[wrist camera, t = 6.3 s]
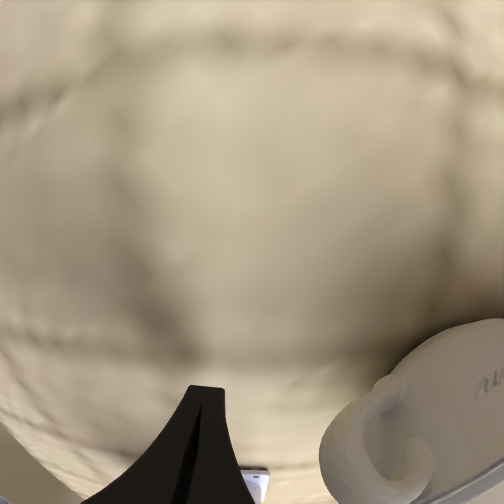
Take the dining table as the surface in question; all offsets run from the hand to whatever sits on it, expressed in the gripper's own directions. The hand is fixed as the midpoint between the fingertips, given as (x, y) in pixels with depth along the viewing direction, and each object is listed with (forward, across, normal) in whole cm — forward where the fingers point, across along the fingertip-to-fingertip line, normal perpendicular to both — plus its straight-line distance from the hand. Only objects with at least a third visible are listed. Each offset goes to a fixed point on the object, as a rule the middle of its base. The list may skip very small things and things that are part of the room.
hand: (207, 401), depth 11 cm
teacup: (+2, -10, 0) cm, 11 cm away
